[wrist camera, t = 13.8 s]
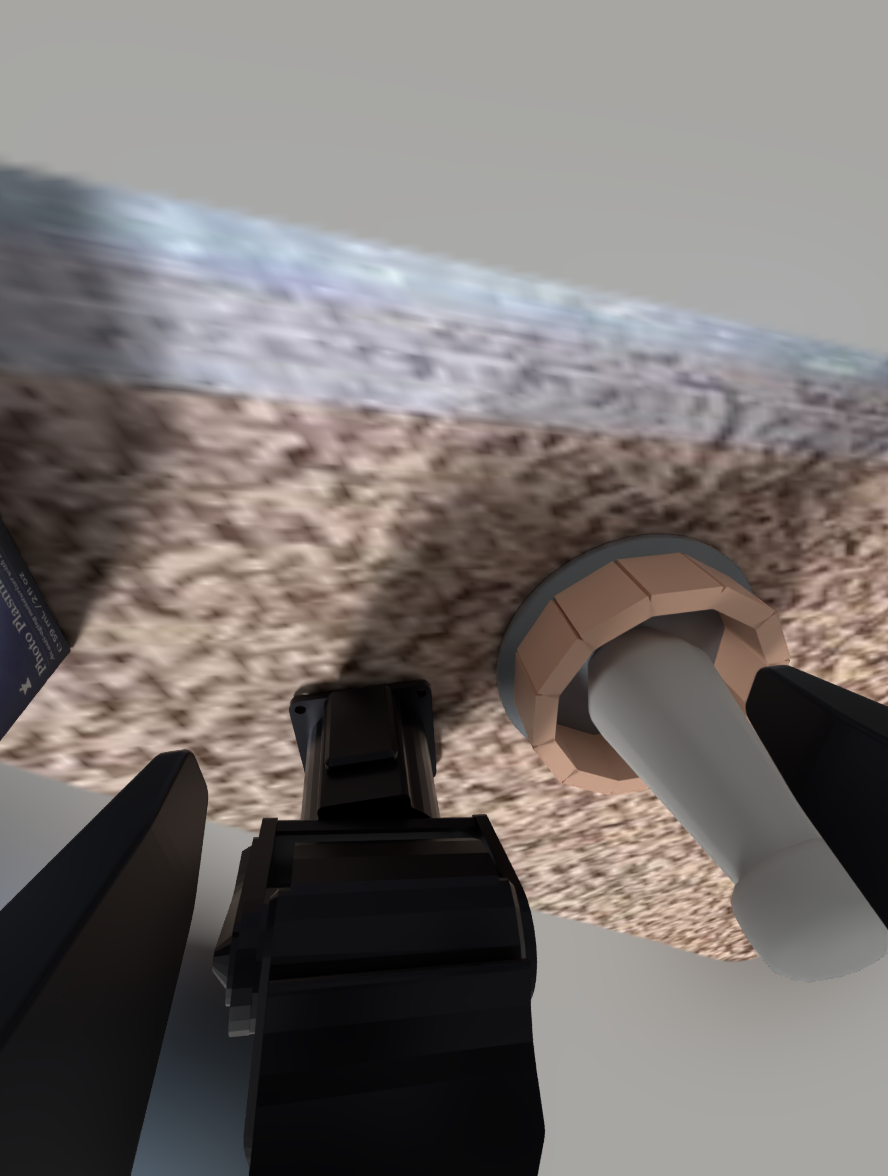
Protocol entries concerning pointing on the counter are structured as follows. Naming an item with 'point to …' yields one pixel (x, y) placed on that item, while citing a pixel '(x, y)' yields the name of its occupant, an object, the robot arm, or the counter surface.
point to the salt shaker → (732, 804)
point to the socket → (608, 609)
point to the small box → (23, 636)
